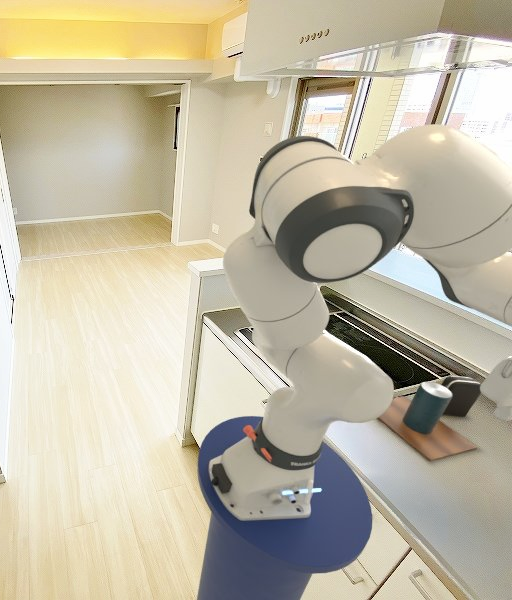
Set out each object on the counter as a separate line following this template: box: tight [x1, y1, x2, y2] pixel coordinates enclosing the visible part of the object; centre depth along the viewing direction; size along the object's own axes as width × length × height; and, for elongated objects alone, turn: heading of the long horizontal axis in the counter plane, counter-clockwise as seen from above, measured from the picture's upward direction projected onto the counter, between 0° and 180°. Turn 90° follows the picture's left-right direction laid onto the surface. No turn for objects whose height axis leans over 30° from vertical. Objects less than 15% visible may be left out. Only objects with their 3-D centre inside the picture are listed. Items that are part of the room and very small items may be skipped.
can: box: [403, 381, 453, 434], centre depth 83 cm, size 6×6×12 cm
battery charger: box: [440, 375, 482, 418], centre depth 88 cm, size 7×4×11 cm, turn 77°
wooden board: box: [377, 395, 478, 462], centre depth 86 cm, size 14×18×1 cm
